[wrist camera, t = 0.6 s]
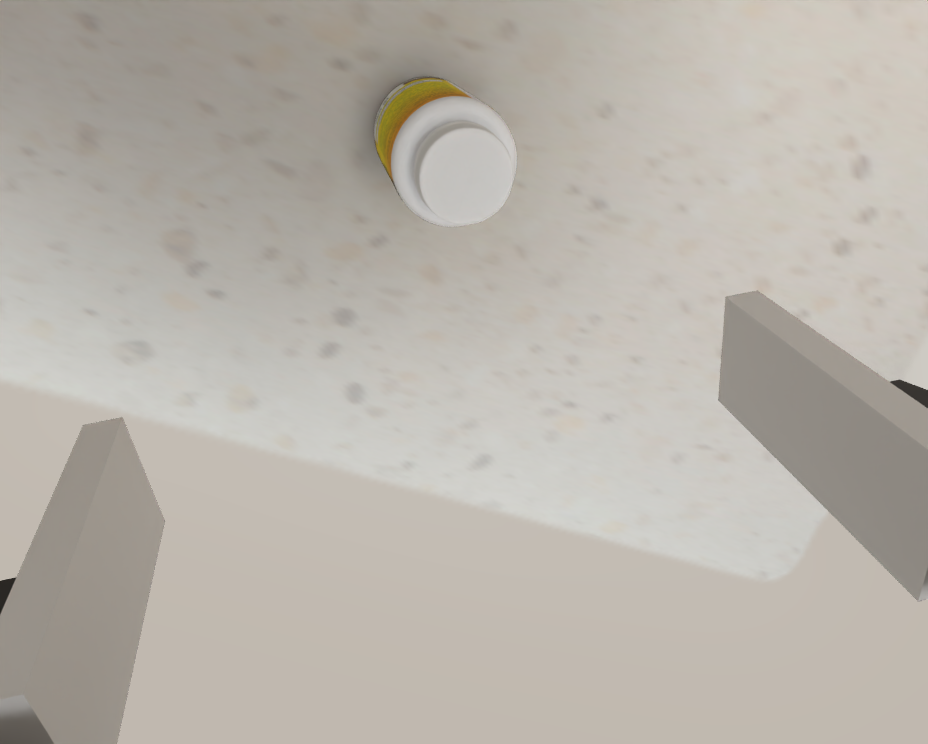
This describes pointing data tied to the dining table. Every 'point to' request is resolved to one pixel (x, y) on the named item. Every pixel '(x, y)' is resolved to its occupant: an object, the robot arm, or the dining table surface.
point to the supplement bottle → (445, 152)
